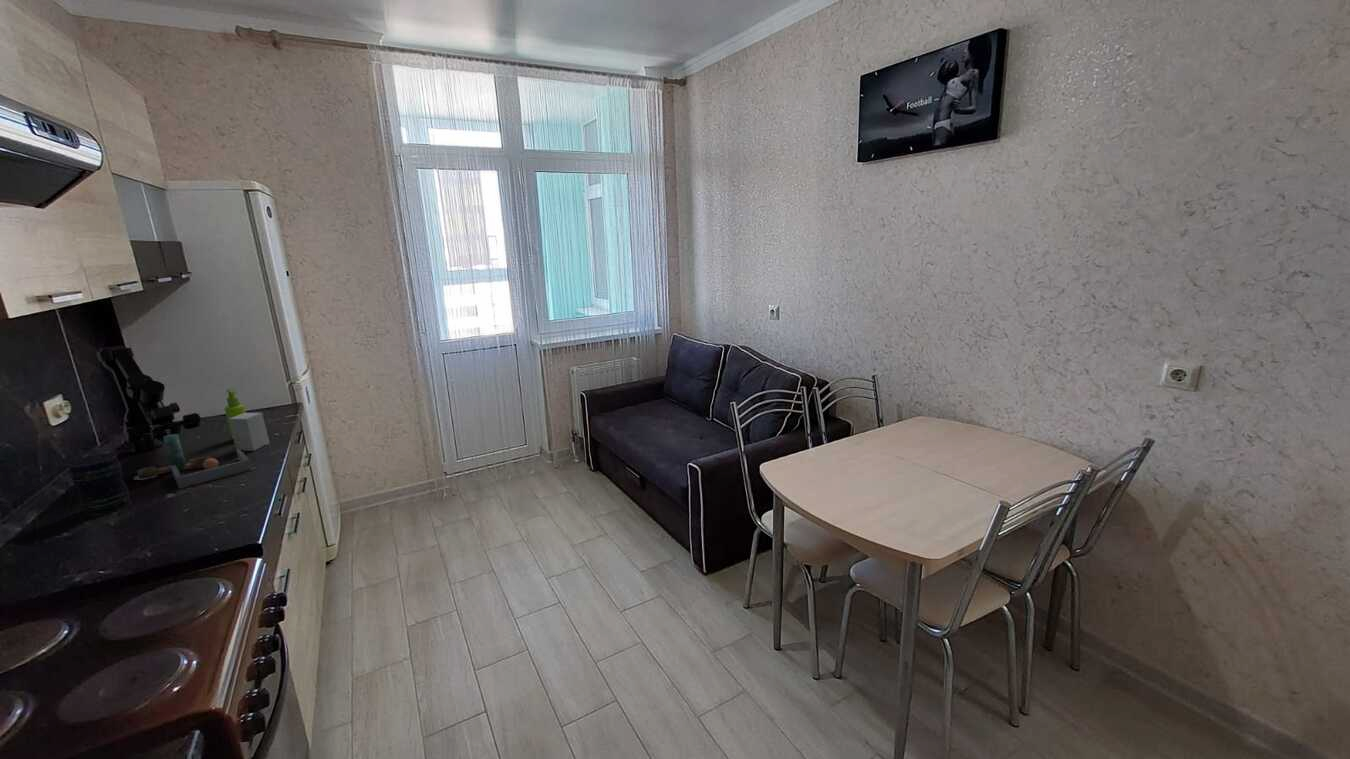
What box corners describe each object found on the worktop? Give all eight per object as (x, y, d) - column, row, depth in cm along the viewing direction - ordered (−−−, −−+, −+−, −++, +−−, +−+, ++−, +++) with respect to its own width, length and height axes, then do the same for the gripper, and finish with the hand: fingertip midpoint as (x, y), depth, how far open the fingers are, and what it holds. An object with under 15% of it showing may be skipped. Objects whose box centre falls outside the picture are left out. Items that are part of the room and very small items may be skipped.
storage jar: (100, 517, 151) (84, 468, 147) (74, 514, 153) (57, 465, 149) (140, 500, 160) (126, 454, 156) (115, 498, 162) (100, 452, 158)
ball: (212, 467, 178) (213, 474, 181) (221, 458, 182) (221, 465, 184) (199, 463, 177) (200, 470, 180) (208, 454, 181) (208, 461, 183)
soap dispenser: (236, 442, 205) (223, 392, 200) (230, 439, 209) (218, 390, 204) (254, 438, 210) (243, 389, 205) (249, 434, 214) (237, 386, 209)
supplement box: (270, 443, 204) (263, 412, 200) (253, 451, 197) (246, 418, 193) (252, 443, 204) (245, 412, 201) (235, 451, 197) (227, 418, 194)
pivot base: (137, 482, 173) (137, 481, 172) (130, 477, 176) (130, 477, 176) (166, 474, 178) (165, 473, 178) (158, 470, 182) (158, 469, 182)
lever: (137, 479, 174) (126, 444, 171) (141, 474, 178) (131, 440, 175) (212, 465, 184) (203, 432, 181) (215, 461, 187) (206, 428, 184)
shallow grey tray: (173, 475, 177) (170, 466, 176) (242, 458, 190) (240, 449, 189) (179, 488, 167) (176, 478, 166) (251, 469, 181) (249, 459, 180)
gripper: (117, 405, 172) (138, 443, 169) (191, 390, 187) (212, 425, 184) (117, 424, 178) (137, 461, 175) (188, 408, 193) (208, 442, 190)
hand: (175, 447), depth 181 cm, fingers closed
